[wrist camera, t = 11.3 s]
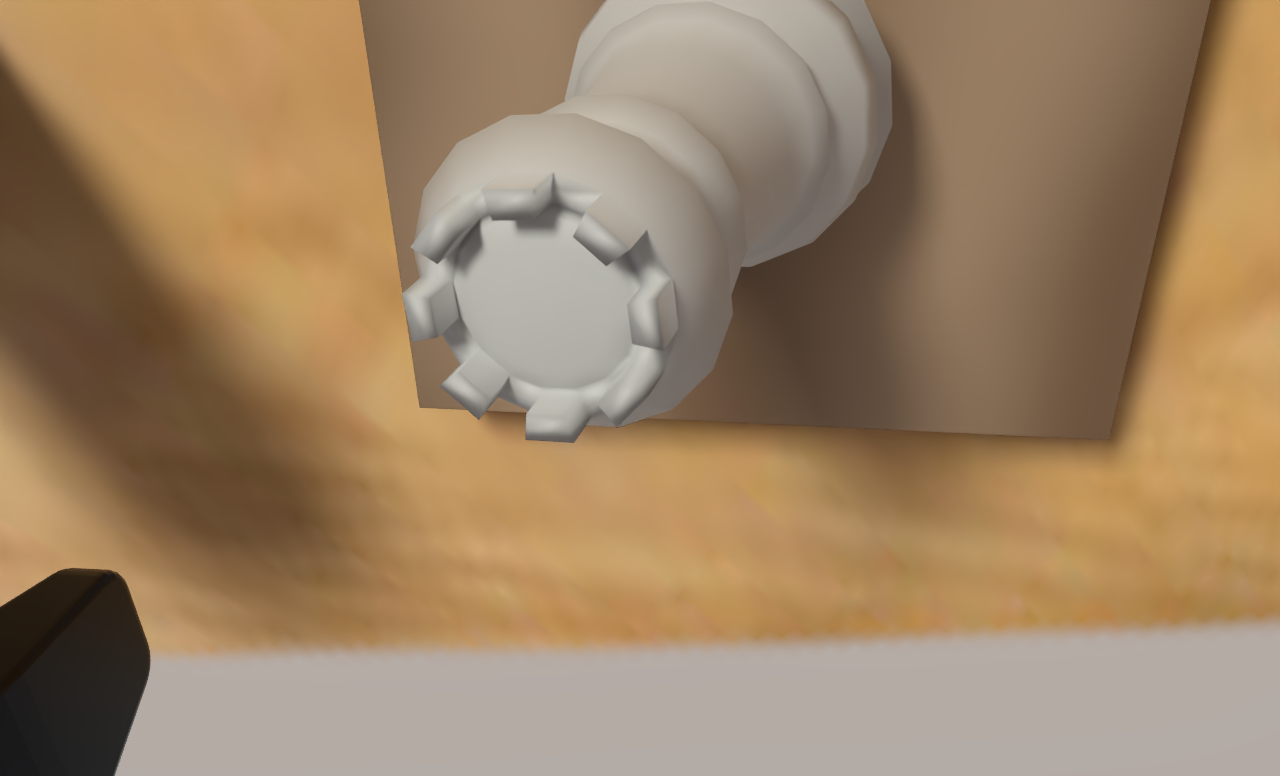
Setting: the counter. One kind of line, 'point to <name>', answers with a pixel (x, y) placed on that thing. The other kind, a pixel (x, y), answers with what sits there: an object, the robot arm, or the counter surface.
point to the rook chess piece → (644, 203)
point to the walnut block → (881, 208)
